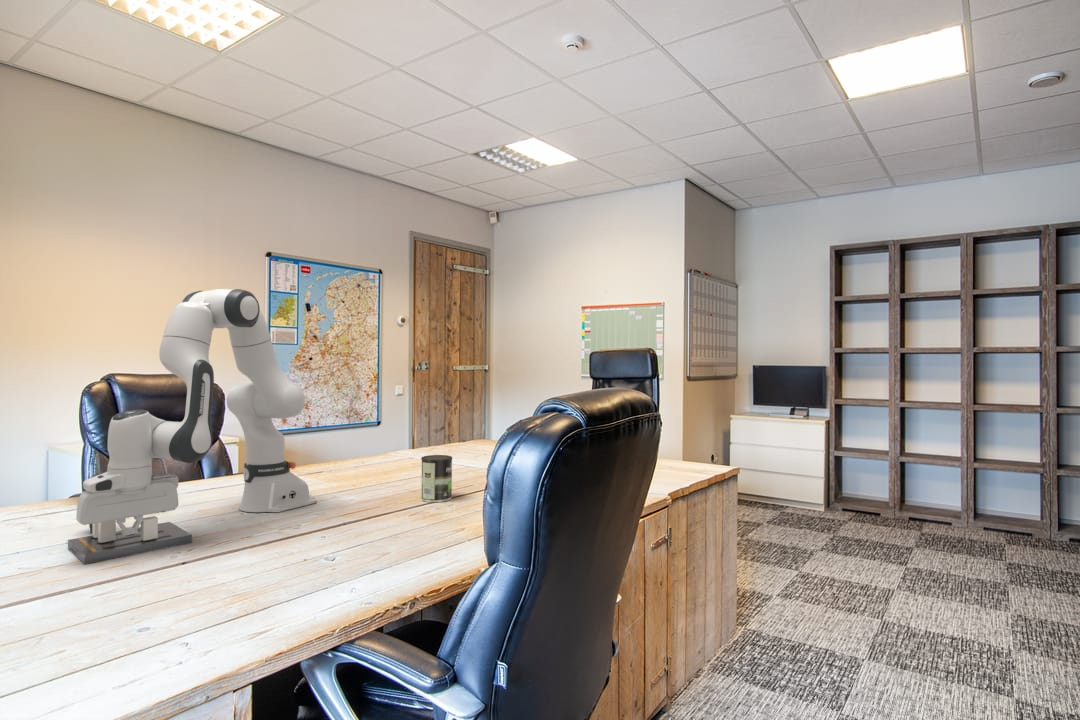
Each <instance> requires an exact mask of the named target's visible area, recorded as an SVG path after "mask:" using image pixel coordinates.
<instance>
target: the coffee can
mask: <svg viewBox="0 0 1080 720" xmlns="http://www.w3.org/2000/svg"><path fill="white" fill-rule="evenodd" d="M420 459H421V495H420V496H421V497H420V500H421V501H422V502H426V503H444V502H448V501H450V500H452V499H453V497H452V495H453V493H452V491H453V490H452V489H453V485H452V482H453V473H452V472H453V468H452V467H453V456H452V455H448V454H447V455H446V454H432V455H424V456H422V457H421V458H420Z"/></svg>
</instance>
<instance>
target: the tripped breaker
mask: <svg viewBox="0 0 1080 720" xmlns="http://www.w3.org/2000/svg"><path fill="white" fill-rule="evenodd" d="M158 524H159V518H158V517H157V516H155V515H154V516H153V515H152V516H147V517H143V520H142V522H141V524H140V527H141V539H142V540H143V541H145V540H151V539H156V538H158Z"/></svg>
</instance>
